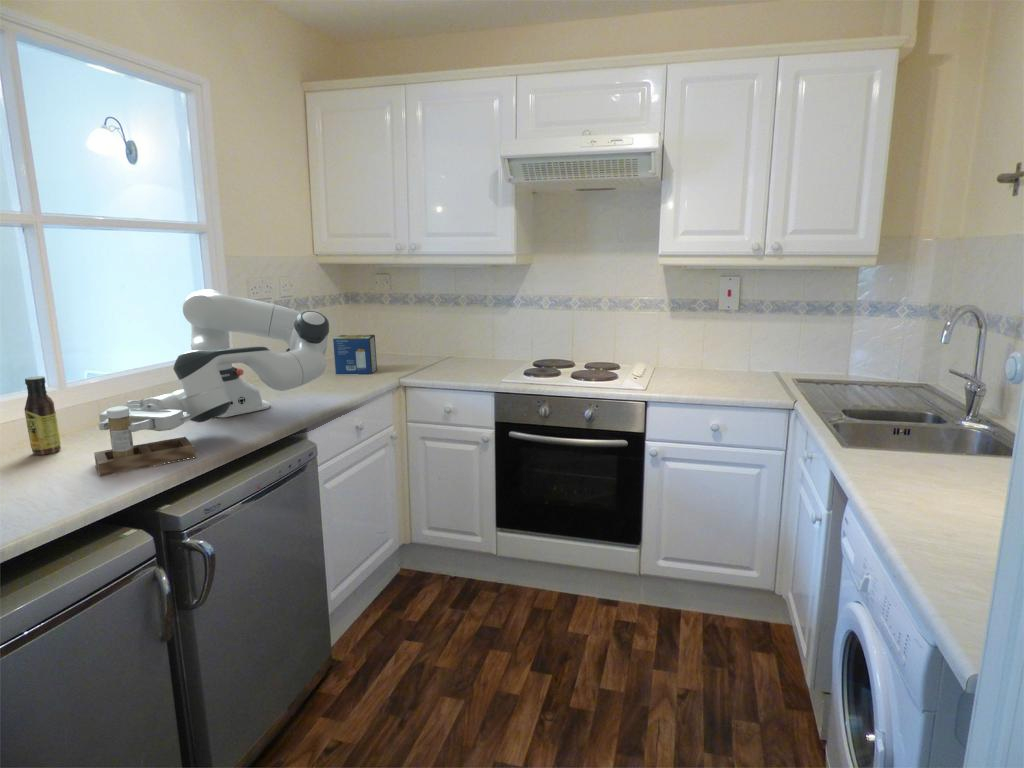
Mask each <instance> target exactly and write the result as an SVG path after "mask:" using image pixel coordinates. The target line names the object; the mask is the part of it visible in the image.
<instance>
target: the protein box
mask: <svg viewBox="0 0 1024 768" xmlns="http://www.w3.org/2000/svg"><path fill="white" fill-rule="evenodd" d="M332 343H333V357H334V358H333V359H334V372H335V375H336V374H358V375H372V374H373V373H375V372H376V371H378V363H377V348H376V336H375V334H340V335H337V336H336V337H333V338H332Z"/></svg>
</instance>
